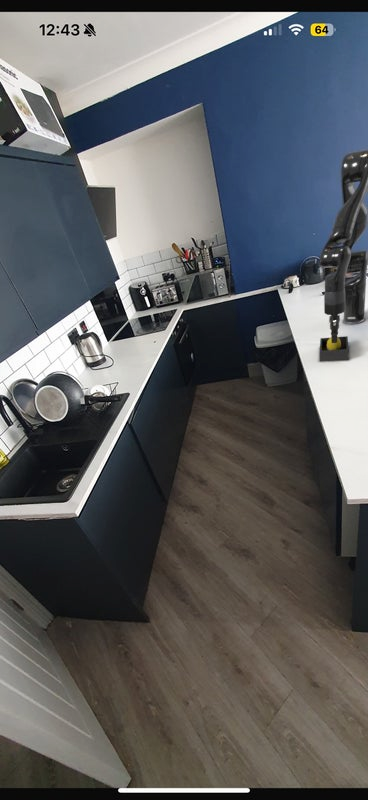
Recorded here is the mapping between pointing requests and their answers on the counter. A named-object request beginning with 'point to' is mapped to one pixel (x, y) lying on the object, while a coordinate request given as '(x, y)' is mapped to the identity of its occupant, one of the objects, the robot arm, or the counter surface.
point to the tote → (334, 354)
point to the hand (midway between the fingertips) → (334, 338)
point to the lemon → (333, 344)
